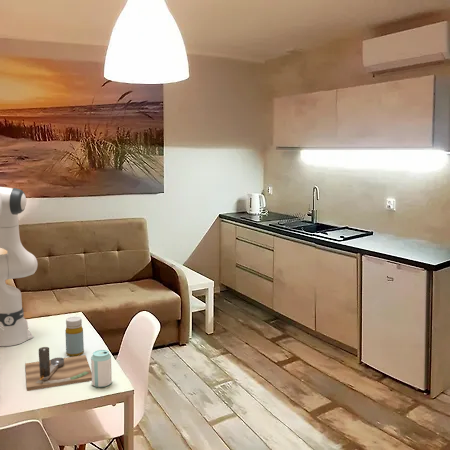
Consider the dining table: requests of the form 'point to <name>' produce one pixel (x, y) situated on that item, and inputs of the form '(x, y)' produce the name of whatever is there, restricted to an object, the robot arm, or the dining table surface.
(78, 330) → the bottle
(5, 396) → the dining table surface
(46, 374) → the peg lever
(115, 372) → the dining table surface
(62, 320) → the dining table surface
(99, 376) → the can
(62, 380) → the tuner board
